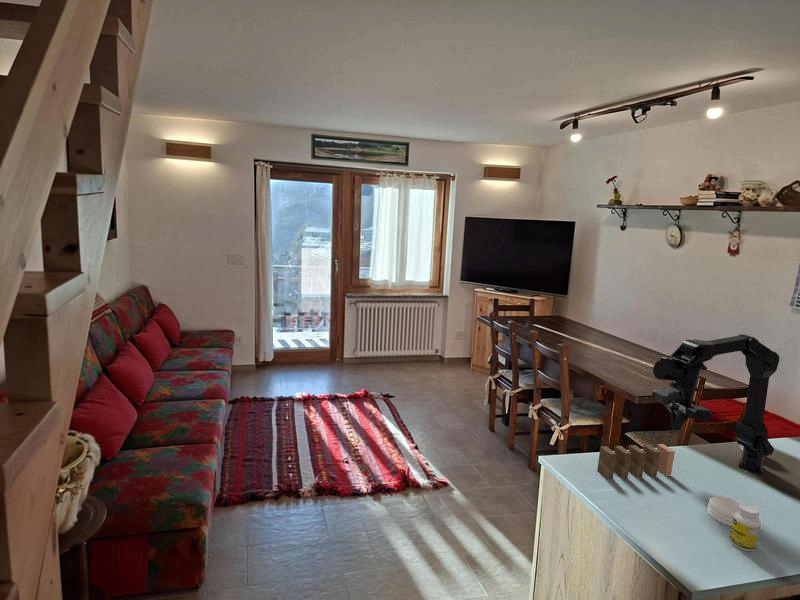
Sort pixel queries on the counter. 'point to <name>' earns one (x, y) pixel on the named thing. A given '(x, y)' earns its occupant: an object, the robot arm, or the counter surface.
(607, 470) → the walnut domino
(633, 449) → the walnut domino
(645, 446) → the walnut domino
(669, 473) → the terracotta domino
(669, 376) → the robot arm
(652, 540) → the counter surface
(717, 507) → the white rounded piece
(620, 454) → the walnut domino
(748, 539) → the supplement bottle
